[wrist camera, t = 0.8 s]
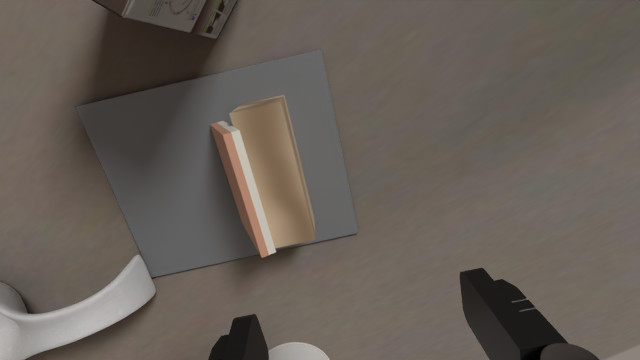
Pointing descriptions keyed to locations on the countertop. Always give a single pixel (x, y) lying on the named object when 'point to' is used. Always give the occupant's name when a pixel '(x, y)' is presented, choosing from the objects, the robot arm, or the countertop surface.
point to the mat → (213, 160)
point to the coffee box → (175, 13)
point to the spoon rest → (71, 314)
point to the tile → (243, 186)
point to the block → (276, 169)
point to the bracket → (296, 352)
